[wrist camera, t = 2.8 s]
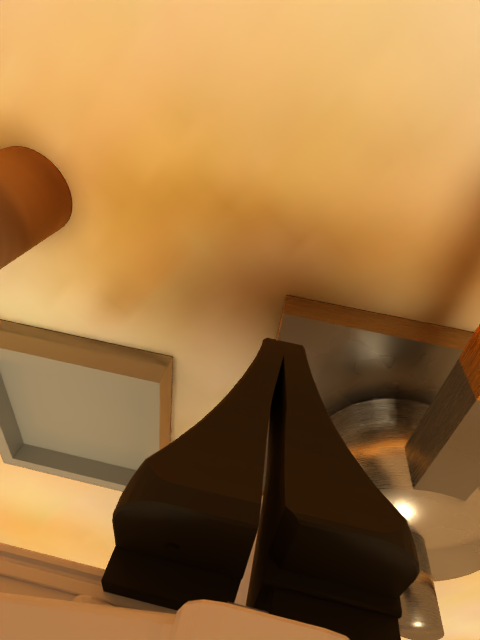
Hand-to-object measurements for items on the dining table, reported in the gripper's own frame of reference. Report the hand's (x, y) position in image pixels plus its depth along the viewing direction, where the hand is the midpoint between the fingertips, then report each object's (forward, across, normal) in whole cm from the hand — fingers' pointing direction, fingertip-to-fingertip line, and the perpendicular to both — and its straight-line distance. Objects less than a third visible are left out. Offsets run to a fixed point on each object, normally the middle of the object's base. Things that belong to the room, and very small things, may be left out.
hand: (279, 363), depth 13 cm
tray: (+5, +11, +10) cm, 16 cm away
